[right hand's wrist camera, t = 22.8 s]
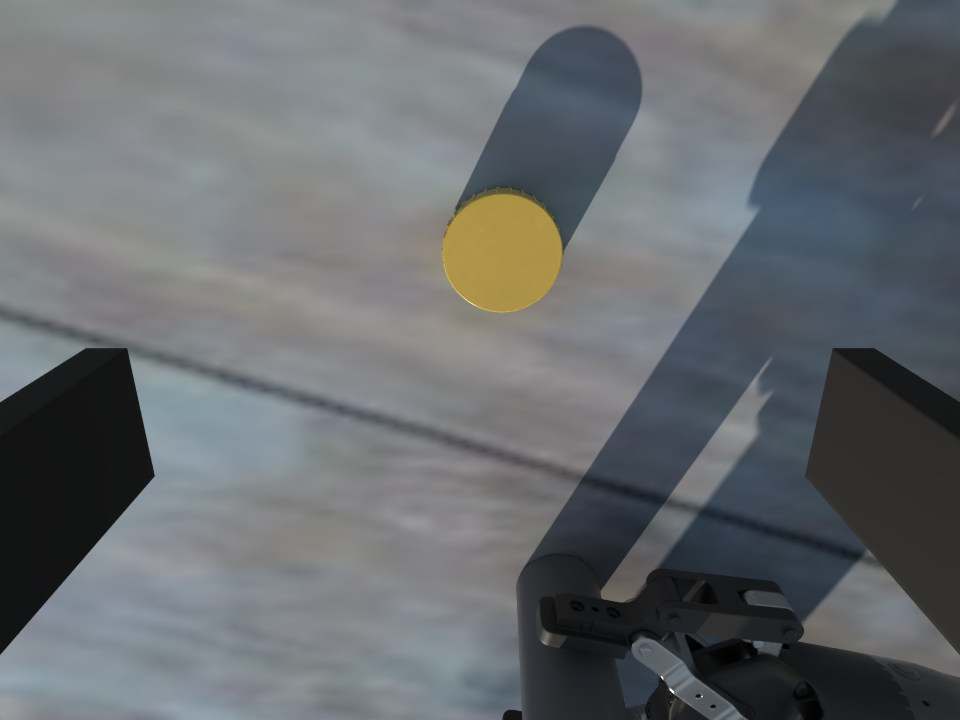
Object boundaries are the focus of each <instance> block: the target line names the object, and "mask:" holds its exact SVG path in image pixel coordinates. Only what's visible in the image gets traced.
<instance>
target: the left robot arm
mask: <svg viewBox="0 0 960 720" xmlns="http://www.w3.org/2000/svg"><path fill="white" fill-rule="evenodd" d="M646 581H647V585H648V587H647V588H646V589H645V590H644V591H643V592H642V593H641V594H640V595H639V596H638V597H637V598H631V599H628V600H626V601H625V602H624V603H620V602H614V601H609V600H603V599H598V598H593V597H590V598H589V597H587V596H580V595H577V594H571V593H562V594H555V597H550V596H544V597H542V598H541V599H540V601H539V604H538V607H537V610H536V624H537V635H538V638H539V640H540V641H541V642H542V643H544V644H545V645H548V646H553V647H558V648H564V649H569V650H575V651H580V652H586V653H591V654H597V655H602V656H608V657H613V658H619V659H624V657H625V654H626V652H627V650H631V653H632V656H633V657H634V658H635V659H637V660H638V661H640V662H641V663H642V664H644V665H645V666H646V667H648V668H649V669H651V670H652V671H653V672H655V673H656V674H658V675H659V686H658V688H657V689H656V690H655V691H654V692H653V694H652V695H651V696H650V697H649V699H648V702H647V704H643V705H638V706H633V707H628V708H626V712H627V717H628V720H960V677H956V676H952V675H948V674H944V673H941V672H938V671H935V670H933V669H930V668H927V667H924V666H920V665H917V664H914V663H910V662H905V661H900V660H895V659H889V658H884V657H879V656H873V655H868V654H863V653H857V652H852V651H847V650H841V649H836V648H830V647H825V646H820V645H814V644H809V643H803V642H798V640H799V639H800V638H801V637H802V636H803V633H804V628H803V626H802V624H801V623H800V621H799V619H798V618H797V616H796V614H795V613H794V611H793V609H792V608H791V606H790V604H789V603H788V601H787V599H786V598H785V596H784V594H783V593H782V591H781V589H780V588H779V586H778V585H777V584H776V583H775V582H772V581H766V580H757V579H748V578H739V577H730V576H721V575H712V574H703V573H694V572H685V571H676V570H667V569H657V570H654V571H652V572H651V573H650V574H649V575H648V577H647V580H646ZM683 601H692V602H698V603H692V602H683ZM696 634H699V635H708V636H717V637H726V638H733V639H730V640H727V641H723V642H720V643H717V644H714V645H713V644H708V643H707V642H706V641H704V640H703V639H702V638H700V637H699V636H698V635H696ZM502 720H522V711H517V710H507V711H506V712H505V713H504V715H503V718H502Z"/></svg>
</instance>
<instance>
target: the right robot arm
mask: <svg viewBox="0 0 960 720" xmlns="http://www.w3.org/2000/svg"><path fill="white" fill-rule="evenodd" d="M154 476H155V475H154V470H153V466H152V461H151V456H150V452H149V447H148V442H147V438H146V433H145V429H144V424H143V419H142V415H141V410H140V406H139V401H138V396H137V392H136V387H135V382H134V378H133V373H132V369H131V364H130V359H129V355H128V350H127V348H86V349H84V350H82V351H81V352H79V353H78V354H76V355H75V356H73V357H71V358H70V359H68V360H67V361H65V362H63V363H62V364H60V365H59V366H57V367H55V368H54V369H52V370H51V371H49V372H48V373H46V374H44V375H43V376H41V377H40V378H38V379H36V380H35V381H33V382H32V383H30V384H29V385H27V386H25V387H24V388H22V389H21V390H19V391H17V392H16V393H14V394H13V395H11V396H9V397H8V398H6V399H5V400H3V401H2V402H0V654H1V653H2V652H3V651H4V650H5V649H6V648H7V646H8V645H9V644H10V643H11V642H12V641H13V639H14V638H15V637H16V636H17V635H18V634H19V633H20V631H21V630H22V629H23V628H24V627H25V626H26V624H27V623H28V622H29V621H30V620H31V619H32V617H33V616H34V615H35V614H36V613H37V612H38V611H39V609H40V608H41V607H42V606H43V605H44V604H45V602H46V601H47V600H48V599H49V598H50V597H51V595H52V594H53V593H54V592H55V591H56V590H57V589H58V587H59V586H60V585H61V584H62V583H63V582H64V580H65V579H66V578H67V577H68V576H69V575H70V574H71V572H72V571H73V570H74V569H75V568H76V567H77V565H78V564H79V563H80V562H81V561H82V560H83V558H84V557H85V556H86V555H87V554H88V553H89V552H90V550H91V549H92V548H93V547H94V546H95V545H96V543H97V542H98V541H99V540H100V539H101V538H102V536H103V535H104V534H105V533H106V532H107V531H108V530H109V528H110V527H111V526H112V525H113V524H114V523H115V521H116V520H117V519H118V518H119V517H120V516H121V515H122V513H123V512H124V511H125V510H126V509H127V508H128V506H129V505H130V504H131V503H132V502H133V501H134V499H135V498H136V497H137V496H138V495H139V494H140V493H141V491H142V490H143V489H144V488H145V487H146V486H147V484H148V483H149V482H150V481H151V480H152V479H153V478H154ZM805 476H806V478H807V479H808V480H809V481H810V482H811V483H812V484H813V486H814V487H815V488H816V489H817V490H818V491H819V493H820V494H821V495H822V496H823V497H824V498H825V499H826V501H827V502H828V503H829V504H830V505H831V506H832V508H833V509H834V510H835V511H836V512H837V513H838V515H839V516H840V517H841V518H842V519H843V520H844V521H845V523H846V524H847V525H848V526H849V527H850V528H851V530H852V531H853V532H854V533H855V534H856V535H857V536H858V538H859V539H860V540H861V541H862V542H863V543H864V545H865V546H866V547H867V548H868V549H869V550H870V552H871V553H872V554H873V555H874V556H875V557H876V558H877V560H878V561H879V562H880V563H881V564H882V565H883V567H884V568H885V569H886V570H887V571H888V572H889V574H890V575H891V576H892V577H893V578H894V579H895V580H896V582H897V583H898V584H899V585H900V586H901V587H902V589H903V590H904V591H905V592H906V593H907V594H908V595H909V597H910V598H911V599H912V600H913V601H914V602H915V604H916V605H917V606H918V607H919V608H920V609H921V611H922V612H923V613H924V614H925V615H926V616H927V617H928V619H929V620H930V621H931V622H932V623H933V624H934V626H935V627H936V628H937V629H938V630H939V631H940V633H941V634H942V635H943V636H944V637H945V638H946V639H947V641H948V642H949V643H950V644H951V645H952V646H953V648H954V649H955V650H956V651H957V652H958V653H959V654H960V402H958V401H957V400H955V399H954V398H952V397H951V396H949V395H947V394H946V393H944V392H943V391H941V390H939V389H938V388H936V387H935V386H933V385H931V384H930V383H928V382H927V381H925V380H924V379H922V378H920V377H919V376H917V375H916V374H914V373H912V372H911V371H909V370H908V369H906V368H905V367H903V366H901V365H900V364H898V363H897V362H895V361H893V360H892V359H890V358H889V357H887V356H885V355H884V354H882V353H881V352H879V351H878V350H876V349H874V348H833V350H832V355H831V359H830V364H829V369H828V373H827V378H826V382H825V387H824V392H823V396H822V401H821V405H820V410H819V415H818V419H817V424H816V429H815V433H814V438H813V442H812V447H811V452H810V456H809V461H808V466H807V470H806V475H805Z"/></svg>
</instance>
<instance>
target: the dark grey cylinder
mask: <svg viewBox="0 0 960 720" xmlns="http://www.w3.org/2000/svg"><path fill="white" fill-rule="evenodd" d="M516 592H517V614H518V635H519V657H520V678H521V700H522V720H628V717H627V712H626V708H625V703H624V698H623V694H622V689H621V685H620V680H619V676H618V671H617V667H616V662H615V658H613V657H608V656H602V655H597V654H591V653H586V652H580V651H575V650H569V649H564V648H558V647H553V646H548V645H545V644H544V643H542V642H541V641H540V640H539V638H538V635H537V624H536V610H537V607H538V604H539V601H540V599H541V598H542V597H544V596H550V597H555V594H562V593H571V594H577V595H580V596H587V597H589V598H590V597H593V598H598V599H602V598H601V594H600V589H599V584H598V580H597V577H596V575H595V573H594V572H593V570H592V569H591V568H590V567H589V566H588V565H587V564H586V563H585V562H583V561H581V560H580V559H577V558H575V557H572V556H568V555H549V556H545V557H542V558H539V559H537V560H535V561H533V562H532V563H530V564H529V565H528V566H527V567H526V568H525V569H524V570H523V571H522V573H521V574H520V576H519V578H518V581H517V586H516Z"/></svg>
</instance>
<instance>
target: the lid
mask: <svg viewBox="0 0 960 720" xmlns="http://www.w3.org/2000/svg"><path fill="white" fill-rule="evenodd" d="M553 219H554V216H553V215H552V213H551V211H550V212H548V210H547V209H546V206H545V204H544V203H543V202H542V203H540V202H539V201H538V200H537V199H536V198H535V196H534V195H532V196H531V195H529V194H527V193H525V192H524V190H522V189H521V191H519V190H516V189H512V187H509V188H499V186H496V188H495V189H490V190H487V189H484V191H483V192H480V193H478V194H475V193H474V194H473V195H472V197H471V198H470V199H468V200H467V201H465V200H464V201H463V203H462V206H461V207H460V208H459V209H458V210H455V211H454V214H453V218H452V220H449V222H448V225H447V227H446V228H448V230H447V232H445V234H444V236H443V240H444V244H443V248H442V252H443V265H444V267H445V271H446V275H447V277H448V279H449V280H450V282H451V284H452V286H453V287H454V288H455V290H456V291H457V292H458V293H459V294H460V295H461V296H462V297H463V298H464V299H465V300H467V301H468V302H470V303H471V304H473V305H475V306H477V307H479V308H481V309H485V310H488V311H494V312H511V311H516V310H520V309H523V308H526V307H528V306H530V305H532V304H533V303H535V302H536V301H538V300H539V299H540V298H542V297H543V296H544V295H545V294H546V293H547V292H548V291H549V289H550V288H551V287H552V285H553V284H554V282H555V280H556V278H557V276H558V274H559V271H560V268H561V266H562V265H561V264H562V256H563V249H562V243H563V240H562V238H561V236H560V233H559V230H560V228H559V226H558V224H557V223H555V222H554V220H553Z"/></svg>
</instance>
